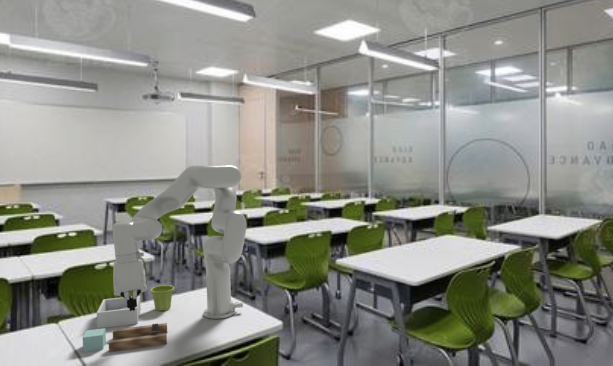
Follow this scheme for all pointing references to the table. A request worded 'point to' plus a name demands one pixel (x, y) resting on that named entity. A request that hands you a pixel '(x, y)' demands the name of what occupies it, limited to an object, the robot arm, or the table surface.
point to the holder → (117, 313)
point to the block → (94, 340)
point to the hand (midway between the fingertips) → (132, 309)
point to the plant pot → (162, 297)
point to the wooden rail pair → (138, 337)
